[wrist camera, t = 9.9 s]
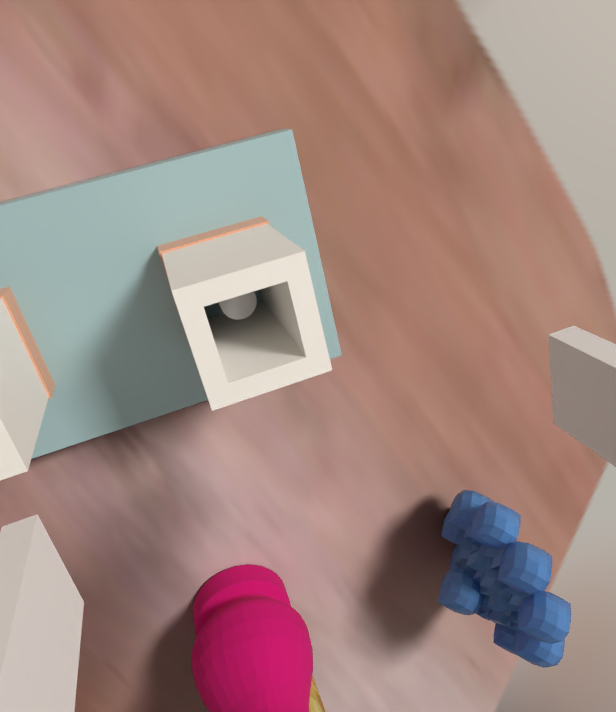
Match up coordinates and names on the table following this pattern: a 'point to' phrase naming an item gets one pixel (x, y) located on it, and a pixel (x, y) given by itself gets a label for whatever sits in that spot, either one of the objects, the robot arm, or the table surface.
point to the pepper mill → (250, 644)
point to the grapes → (503, 580)
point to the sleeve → (264, 326)
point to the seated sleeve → (19, 388)
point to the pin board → (140, 277)
